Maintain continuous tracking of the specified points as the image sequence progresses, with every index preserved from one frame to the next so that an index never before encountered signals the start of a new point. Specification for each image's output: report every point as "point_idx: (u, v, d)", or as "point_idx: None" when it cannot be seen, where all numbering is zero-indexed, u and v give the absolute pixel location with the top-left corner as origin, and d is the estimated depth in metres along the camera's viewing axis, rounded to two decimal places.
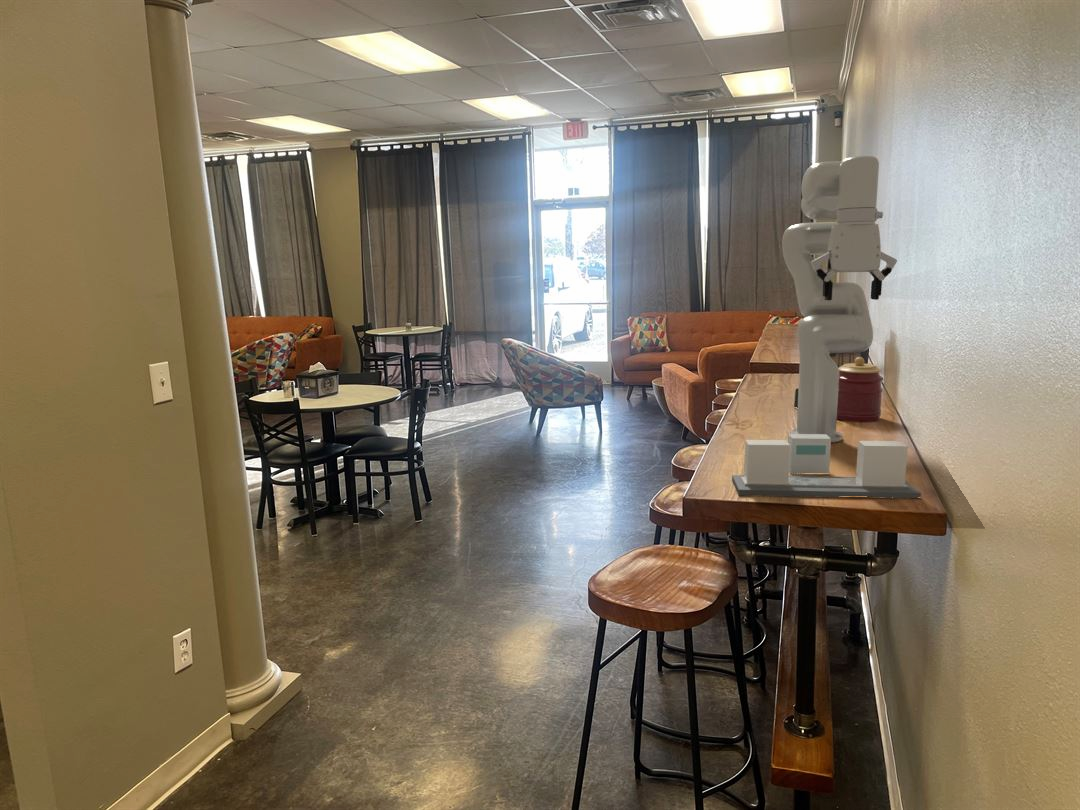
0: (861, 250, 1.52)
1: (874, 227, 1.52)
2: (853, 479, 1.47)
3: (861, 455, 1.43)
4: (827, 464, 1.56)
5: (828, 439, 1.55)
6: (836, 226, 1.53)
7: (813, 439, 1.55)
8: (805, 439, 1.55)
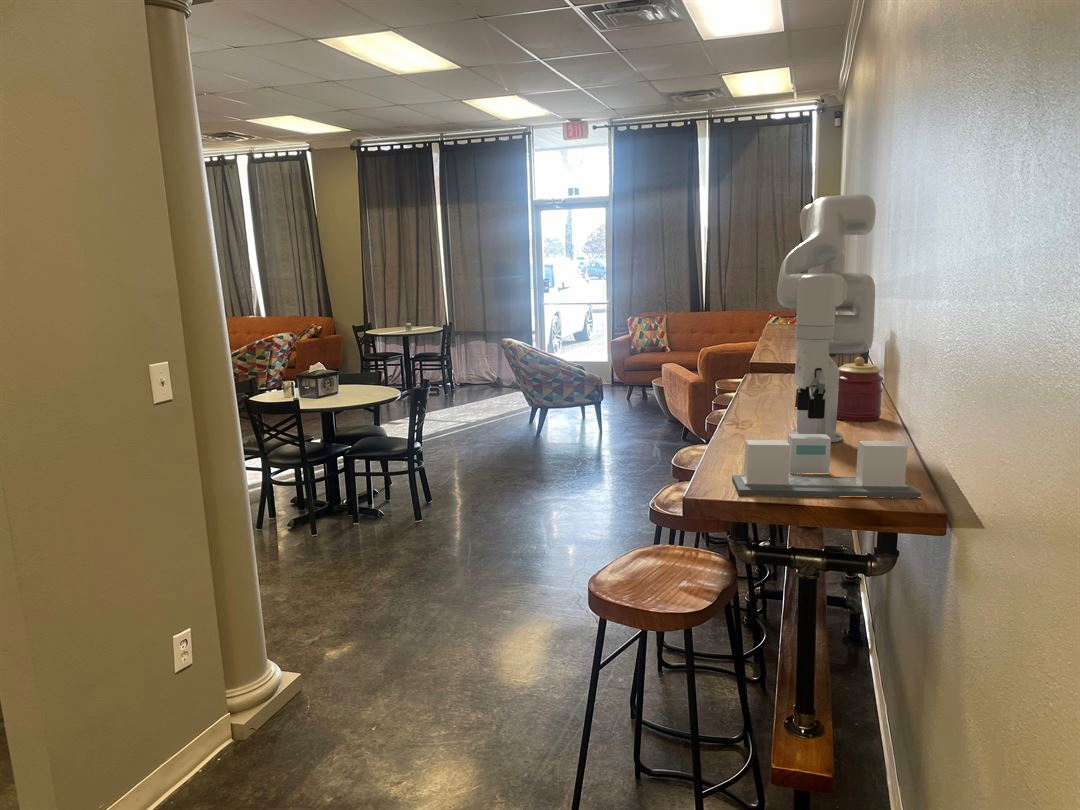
0: None
1: None
2: (853, 479, 1.47)
3: (861, 455, 1.43)
4: (827, 464, 1.56)
5: (828, 439, 1.55)
6: (824, 343, 1.48)
7: (813, 439, 1.55)
8: (805, 439, 1.55)
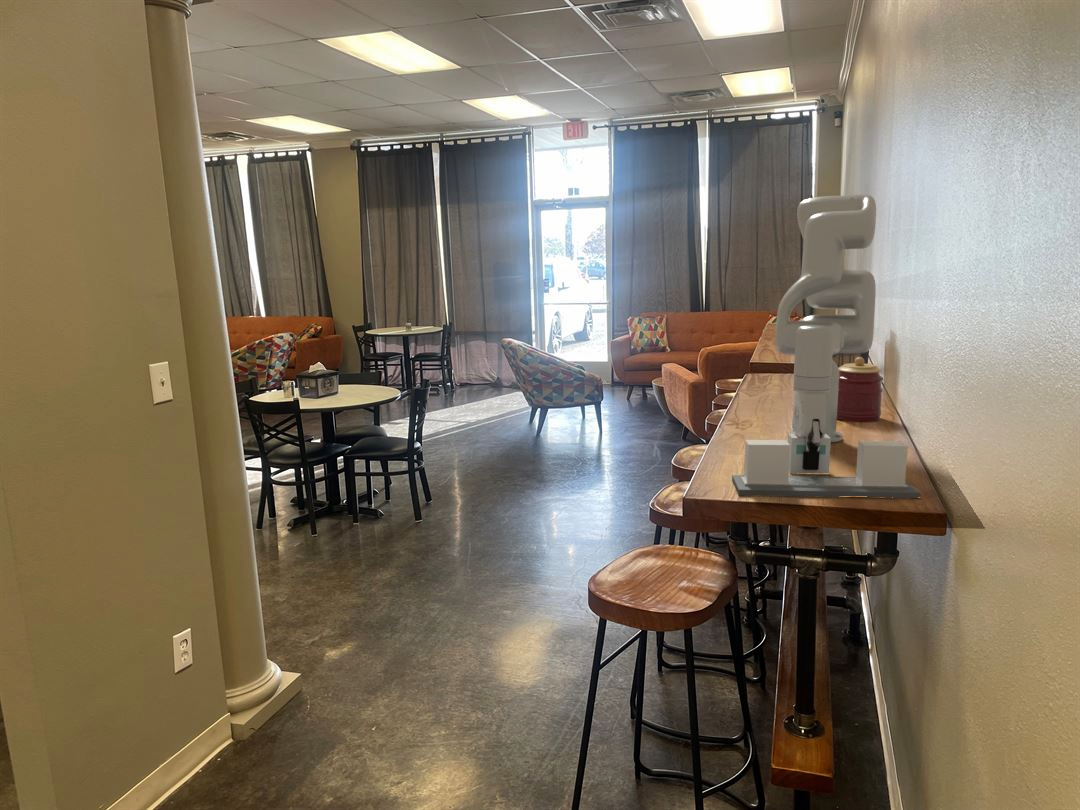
0: None
1: None
2: (853, 479, 1.47)
3: (861, 455, 1.43)
4: (827, 464, 1.56)
5: (828, 439, 1.55)
6: (822, 394, 1.51)
7: None
8: None
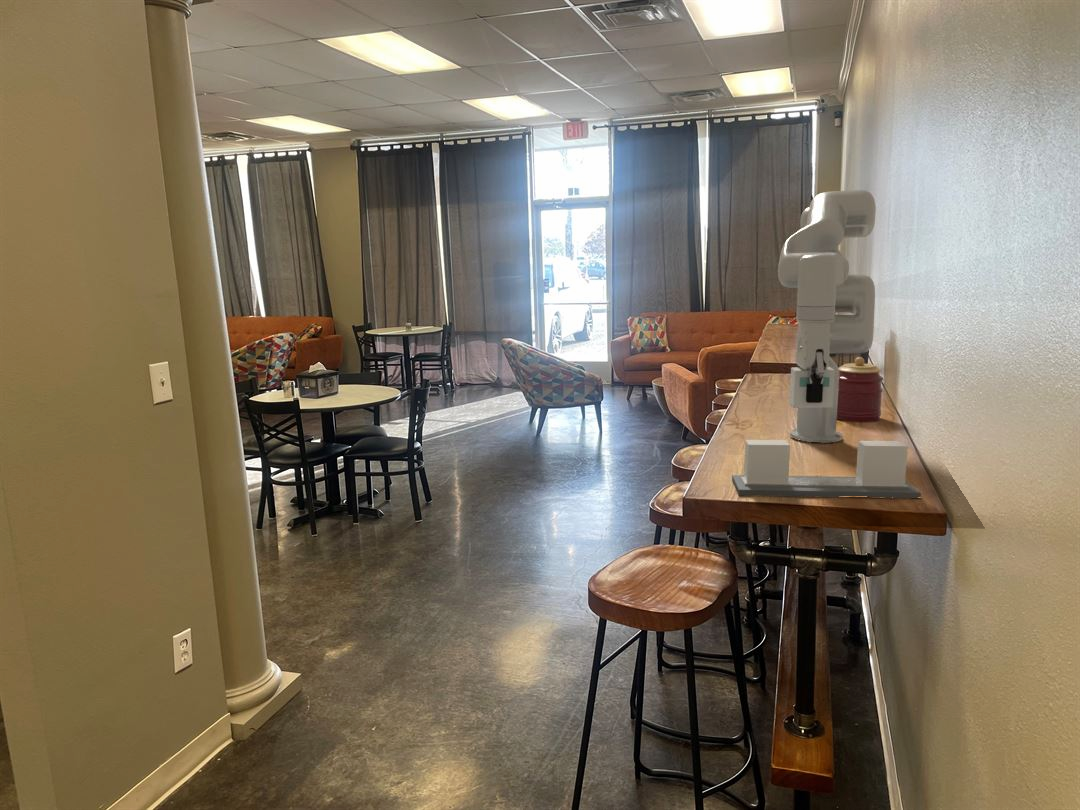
0: None
1: None
2: (853, 479, 1.47)
3: (861, 455, 1.43)
4: (831, 396, 1.53)
5: (832, 371, 1.52)
6: (826, 324, 1.48)
7: None
8: None
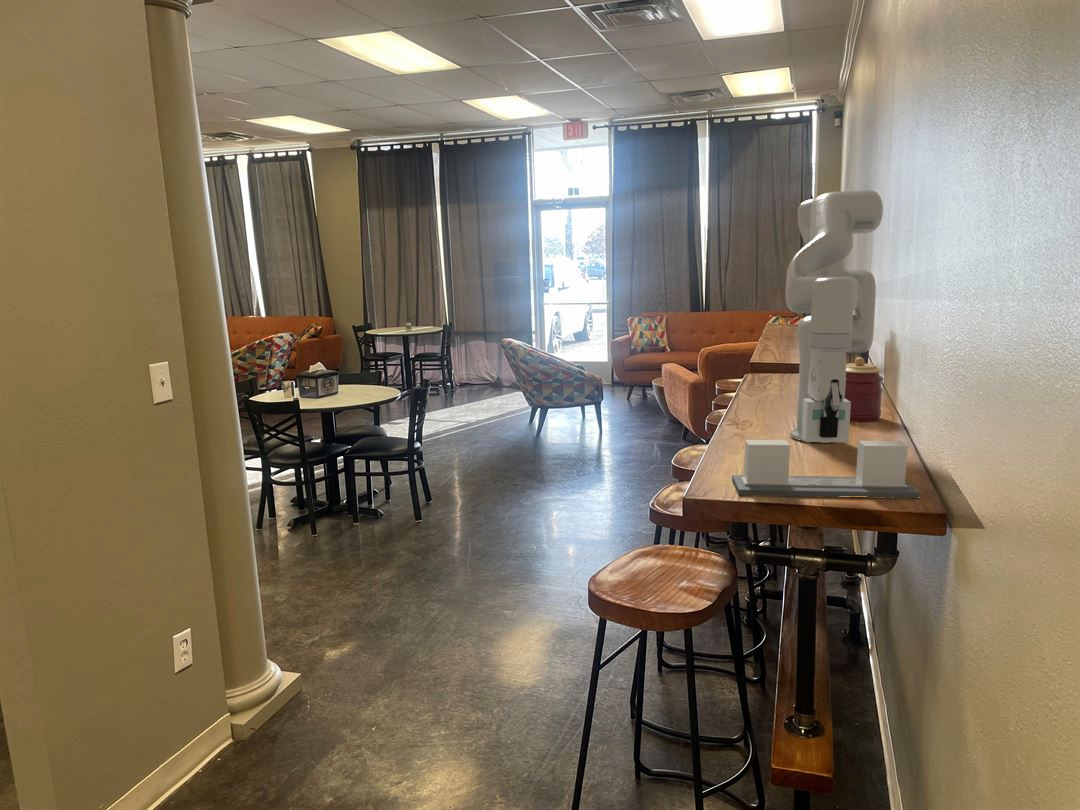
0: None
1: None
2: (853, 479, 1.47)
3: (861, 455, 1.43)
4: (846, 430, 1.41)
5: (848, 403, 1.40)
6: (841, 352, 1.36)
7: None
8: None
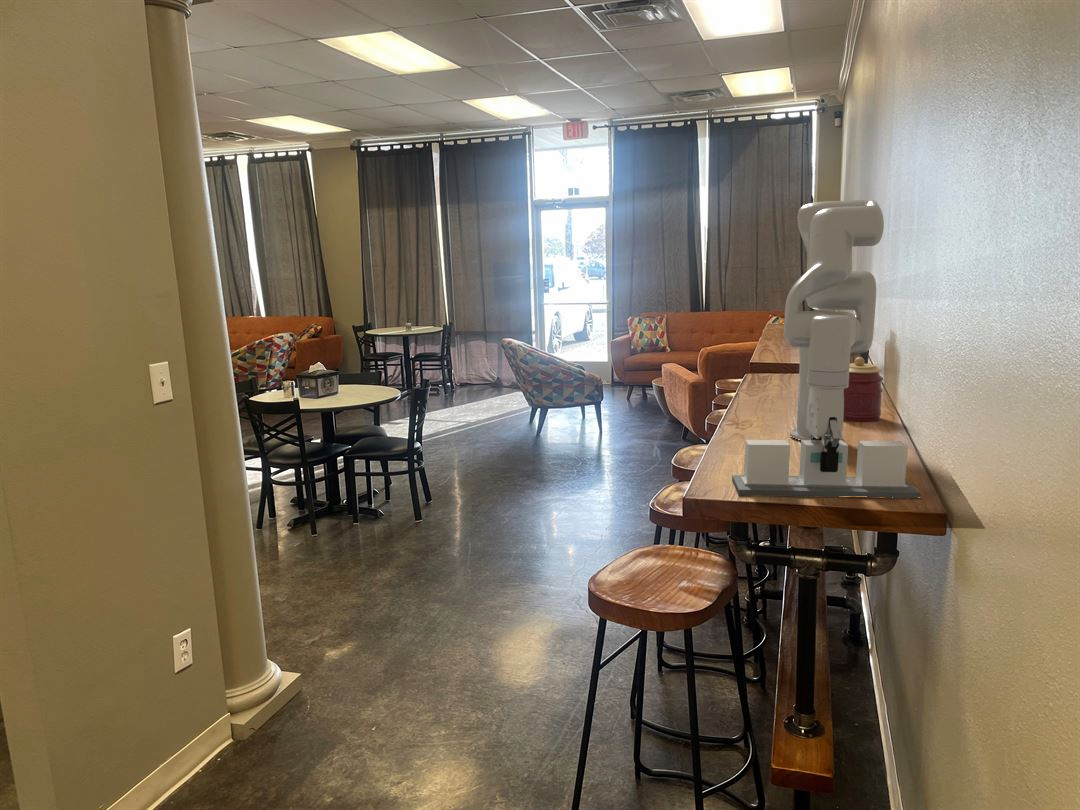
0: None
1: None
2: (853, 479, 1.47)
3: (861, 455, 1.43)
4: (844, 473, 1.43)
5: (845, 446, 1.42)
6: (839, 390, 1.38)
7: None
8: (820, 446, 1.43)
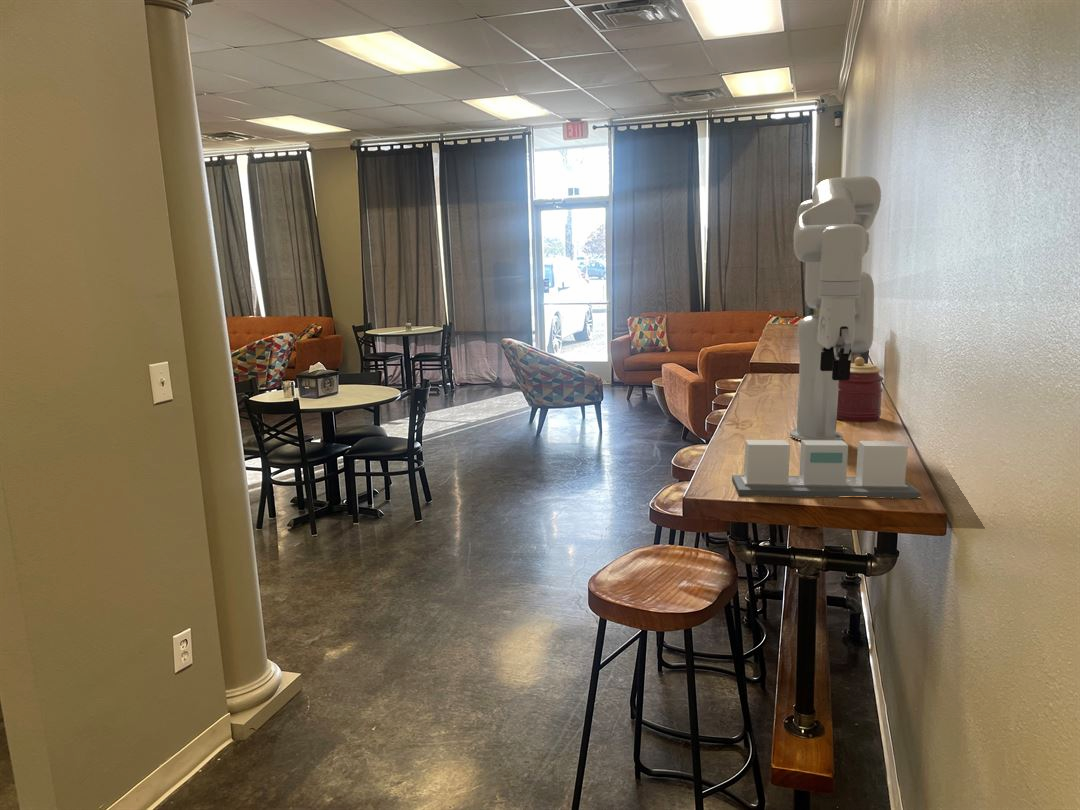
0: None
1: None
2: (853, 479, 1.47)
3: (861, 455, 1.43)
4: (844, 473, 1.43)
5: (845, 446, 1.42)
6: (851, 300, 1.39)
7: (829, 446, 1.43)
8: (820, 446, 1.43)
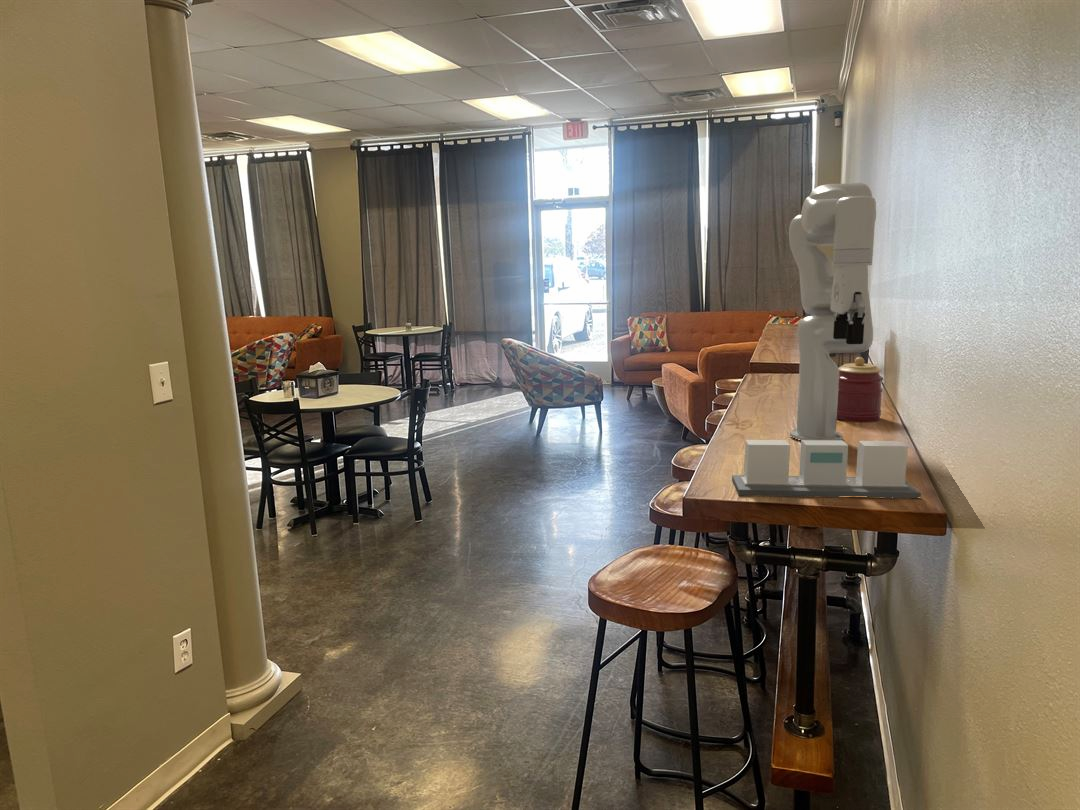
0: None
1: None
2: (853, 479, 1.47)
3: (861, 455, 1.43)
4: (844, 473, 1.43)
5: (845, 446, 1.42)
6: (864, 266, 1.46)
7: (829, 446, 1.43)
8: (820, 446, 1.43)
